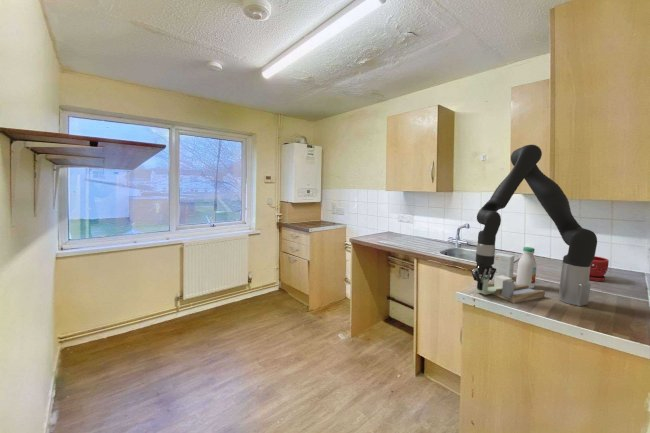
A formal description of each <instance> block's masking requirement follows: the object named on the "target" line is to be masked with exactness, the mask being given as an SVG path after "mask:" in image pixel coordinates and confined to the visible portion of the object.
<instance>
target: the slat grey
mask: <svg viewBox="0 0 650 433" xmlns="http://www.w3.org/2000/svg"><path fill="white" fill-rule="evenodd" d="M514 285H515V282H514V283H513V282H510V281H507V280H506V281H503V287H502V293H500V295H502V296H505V297H507V298H510V299H511V295H516V294H522V293H527V292H533V291H536V290H535V289H533V288H527V289H521V290H515V291H514Z"/></svg>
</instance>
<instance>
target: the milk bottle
mask: <svg viewBox="0 0 650 433" xmlns="http://www.w3.org/2000/svg"><path fill="white" fill-rule="evenodd" d="M522 250H523V251H522V252H523V253H522V255H521V256H520V258H519V260H518V264H517V270H516V279H515V281H516V282H515V285H517V286H520V285H529V288H530V289H534V288H535V284H536V276H537V261H536V258H535V255H534V254H535V250H536V249H535V248H534V247H529V246H524V247H523V249H522Z"/></svg>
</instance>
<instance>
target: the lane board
mask: <svg viewBox="0 0 650 433" xmlns="http://www.w3.org/2000/svg"><path fill="white" fill-rule="evenodd" d="M512 282H513V283H514V291H515V290H521V289H527V288H529V285H520V286H518V285H517V284H515V280H513V279H512ZM492 286H494V281H493V282H488V287H492ZM500 293H502V288H501V289H496V293H491V295H494V296H496V297H498V298H501V299H503V300H505V301H508V302H510V303H512V304H516V303H521V302H527V301H531V300H537V299H542V298H543V299H544V298H545V294H546V290H542V289H540V290H535V291H533V292H527V293H522V294H516V295H511V299H510V298H507V297H505V296H502V295H500Z"/></svg>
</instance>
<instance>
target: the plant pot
mask: <svg viewBox="0 0 650 433" xmlns="http://www.w3.org/2000/svg"><path fill="white" fill-rule="evenodd" d="M609 262H610V261H609V259H608V258H605V257H601V256H596V255H595V257H594V260H593V261H592V262H591V267H590V274H589V281H593V282H595V281H596V282H603V281H605V279H607V278H606V276H605V275H606V273H607V271H608V269H609Z"/></svg>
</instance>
